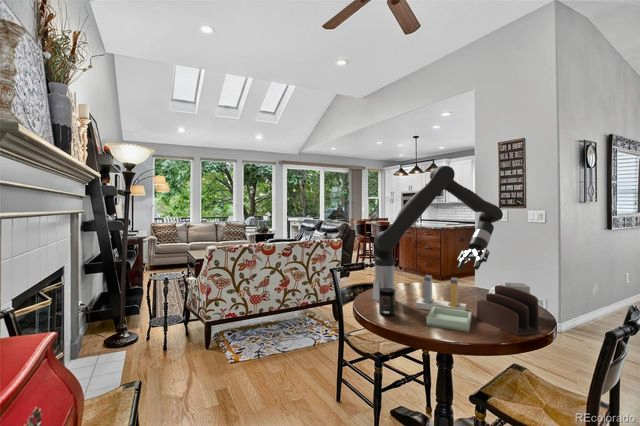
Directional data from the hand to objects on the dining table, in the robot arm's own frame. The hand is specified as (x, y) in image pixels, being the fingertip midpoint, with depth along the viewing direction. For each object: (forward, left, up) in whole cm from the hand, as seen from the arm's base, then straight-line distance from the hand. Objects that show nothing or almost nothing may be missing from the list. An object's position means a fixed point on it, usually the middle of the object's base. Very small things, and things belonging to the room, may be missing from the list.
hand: (467, 268), depth 151 cm
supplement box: (+13, -14, -18) cm, 26 cm away
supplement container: (-39, +3, -18) cm, 43 cm away
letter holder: (-2, -23, -18) cm, 29 cm away
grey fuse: (-17, +5, -17) cm, 25 cm away
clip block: (-13, +1, -17) cm, 22 cm away
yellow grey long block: (-9, -2, -17) cm, 20 cm away
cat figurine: (+18, 0, -18) cm, 25 cm away
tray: (-20, -14, -17) cm, 30 cm away
